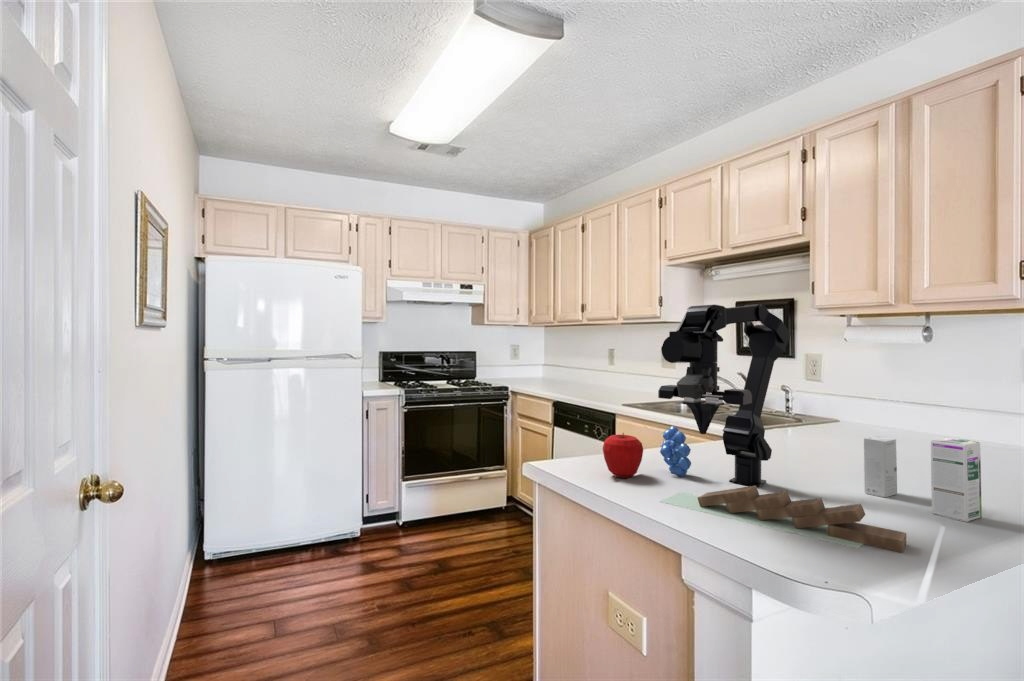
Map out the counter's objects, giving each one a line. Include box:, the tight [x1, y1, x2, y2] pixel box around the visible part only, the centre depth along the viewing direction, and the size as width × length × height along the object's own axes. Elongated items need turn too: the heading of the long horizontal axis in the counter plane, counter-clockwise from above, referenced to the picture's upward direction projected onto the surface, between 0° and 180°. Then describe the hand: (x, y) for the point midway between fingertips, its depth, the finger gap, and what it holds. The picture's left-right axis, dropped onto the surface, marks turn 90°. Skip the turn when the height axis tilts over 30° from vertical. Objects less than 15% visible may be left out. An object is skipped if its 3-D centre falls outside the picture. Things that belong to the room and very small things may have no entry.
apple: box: [602, 432, 644, 479], centre depth 126 cm, size 10×10×11 cm
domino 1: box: [697, 486, 760, 507], centre depth 100 cm, size 2×5×10 cm
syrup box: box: [930, 437, 983, 523], centre depth 99 cm, size 6×6×14 cm
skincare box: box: [863, 436, 898, 498], centre depth 114 cm, size 6×4×12 cm
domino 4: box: [792, 503, 866, 528], centre depth 89 cm, size 2×5×10 cm
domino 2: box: [726, 490, 792, 513], centre depth 96 cm, size 2×5×10 cm
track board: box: [659, 491, 863, 549], centre depth 97 cm, size 10×34×1 cm, turn 47°
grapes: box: [659, 425, 692, 477], centre depth 128 cm, size 12×7×12 cm, turn 11°
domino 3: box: [756, 497, 826, 520], centre depth 93 cm, size 2×5×10 cm
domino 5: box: [828, 522, 907, 554], centre depth 85 cm, size 2×5×10 cm
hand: (703, 433), depth 113 cm, fingers closed
